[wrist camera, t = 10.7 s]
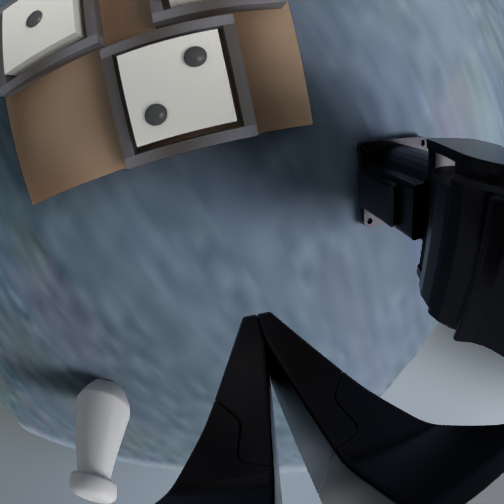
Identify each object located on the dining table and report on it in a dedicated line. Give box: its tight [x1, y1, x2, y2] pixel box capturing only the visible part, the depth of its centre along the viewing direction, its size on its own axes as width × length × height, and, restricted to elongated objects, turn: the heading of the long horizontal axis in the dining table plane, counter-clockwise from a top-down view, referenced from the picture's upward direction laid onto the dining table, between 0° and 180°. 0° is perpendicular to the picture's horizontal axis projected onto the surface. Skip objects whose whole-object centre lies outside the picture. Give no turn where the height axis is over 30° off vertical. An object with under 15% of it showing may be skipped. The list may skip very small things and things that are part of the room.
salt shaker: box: [69, 378, 130, 504], centre depth 19 cm, size 6×6×13 cm
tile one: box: [2, 0, 87, 76], centre depth 8 cm, size 5×5×2 cm
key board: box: [0, 0, 313, 205], centre depth 12 cm, size 18×15×3 cm
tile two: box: [117, 29, 237, 147], centre depth 12 cm, size 5×5×2 cm
